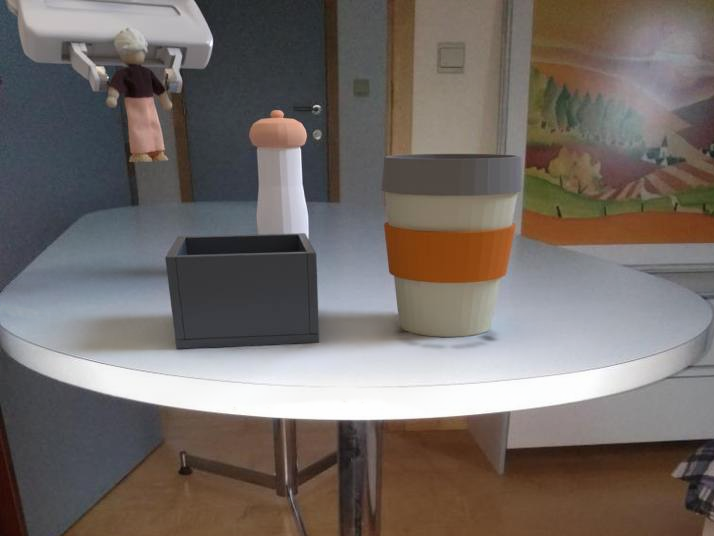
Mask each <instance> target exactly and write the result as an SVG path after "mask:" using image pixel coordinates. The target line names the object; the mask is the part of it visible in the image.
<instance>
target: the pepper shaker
mask: <svg viewBox="0 0 714 536" xmlns="http://www.w3.org/2000/svg"><path fill="white" fill-rule="evenodd" d="M269 115H270V117H268V118H260V119H259V120H257V121H255V122H253V124H252V125H251V127H250V129H249V135H248V136H249V140H250V143H251V145H252V146H254V147H257V148H256V159H257V175H258V177H257V178H258V192H257V193H258V194H257V202H256V203H257V205H256V229H257V234H296V233H297V234H298V233H305V234H306V236H307V238H308V239H309V213H308V208H307V207H308V206H307V202H306V196H305V191H304V185H303V167H302V166H303V165H302V149H301V147H302V146H304V145H306V142H307V137H308V134H307V131H306V128H305V127H304V125H303V123H302V122H300V121H298V120H296V119H295V118H287V117H284V115H285V113H284V112H283V111H282V110H280V109H275V110H272V111H271V112H270V114H269Z"/></svg>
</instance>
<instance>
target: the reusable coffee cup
mask: <svg viewBox="0 0 714 536" xmlns="http://www.w3.org/2000/svg"><path fill="white" fill-rule="evenodd" d="M522 157H523V156H521V155H519V154H518V155H516V154H502V153H501V154H500V153H418V154H417V153H416V154H415V153H414V154H411V153H410V154H394V155H393V154H392V155H386V156H384V158H383V160H384V161H383V168H382V169H383V171H382V178H381V187H380V188H381V189H380V190H381V191H382V192H384V196H385V204H386V205H385V206H386V213H387V215H386V217H387V222H384V224H383V228H384V229H383V230H384V238H385V247H386V256H387V265H388V273H389V274H390V275H392V276H393V279H394V288H395V290H394V291H395V298H396V309H397V316H398V317H397V318H398V326H399V327H400V328H401V329H402V330H404V331H407V332H408V333H412V334H416V335H422V336H427V337H439V338H459V337H470V336H476V335H479V334H480V335H481V334H483V333H486V332H488V331H490V330H491V328H492V325H493V324H492V323H493V319H494V314H495V309H496V304H497V300H498V294H499V289H500V284H501V279H502V278H503V277H504V276H506V275H507V272H508V267H509V262H510V258H511V252H512V247H513V242H514V239H515V232H516V229H517V228H516V227H517V225H516V223H514V222H513V219H514V215H515V210H516V204H517V200H518V194H519V193H520V192H522V191H523V162H522Z"/></svg>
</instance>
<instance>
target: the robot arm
mask: <svg viewBox="0 0 714 536" xmlns="http://www.w3.org/2000/svg"><path fill="white" fill-rule="evenodd" d="M4 1H5V4H6V6H7V9H8V10H9V11H10V12H11V14H13V15H14V16H16V17H17V28H18V34H19V35H18V36H19V40H20V43H21V47H22V51H23V53H24V55H25V56H26V57H28V58H29V59H30V60H32V61H33V62H34V63H37V64H58V65H59V64H60V65H61V64H62V65H71V67H72V68H73V70H74V71H76V73H78V74H79V75H81V76H82V77H83V78H84V79H86V80H87V81H89V84H90V87H91V89H92V91H93V92H109V84H110V79H109V74H108V73H107V70H106V67H105V66H114V67H116V66H117V67H128V66H127V65H126V64H124V63H123V61H122V60H121V58H120V54H119V53H118V52H117V50H116V47H115V46H114V45H115V44H114V42H115V37H116V36H117V33H120V31H121V30H123V29H126V28H133V29H135V30H137V31H139V32H140V33H141V34H142V35H143V37H144V39H145V40H146V42H147V45H148V46H147V50H148V52H147V53H146V54H145V58H144V61H143V63H142V65H141V66H143V67H146V68H164V71H163V75H164V76H163V77H162V85H163V86H164V88H165V91H166V93H167V94H168V93H169V94H170V93H171V94H181V93H182V88H183V78H182V76H181V73H180V70H181V69H193V70H195V69H198V70H204V69H205V68H206V67H207V66H208V64H209V62H210V59H211V56H212V53H213V52H212V51H213V46H214V37H213V34H212V32H211V29H210V27H209V25H208V22H207V21H206V19H205V17H204V15H203V13H202V11H201V9H200V7H199V6H198V4H197V3H196V1H195V0H4Z"/></svg>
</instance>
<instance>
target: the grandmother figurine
mask: <svg viewBox="0 0 714 536" xmlns="http://www.w3.org/2000/svg"><path fill="white" fill-rule="evenodd" d="M114 44H115V45H114V46H115V47H116V50H117V52H118V53H119V54H120V58H121V60H122V61H123V63H124V64H126V65H127V66H124V67H123V68H121V69H119V70H117V71H116V72H115V73H114V74H113V76H112V77H111V79H110V81H109V85H108V91H107V92H108V93H107V95H108V96H107V98H106V101H105V102H106V106H108V107H109V108H116V107H117V105H118V99H119V97H120V96H121V95H122V94H124V106H125V110H126V117H127V125H128V140H129V142H128V143H129V150H130V154H131V155H130V156H129V161H128V162H129V163H149V162H150V163H151V162H165V161H169V158H168V157H167V155H165V153H164V151H165V150H166V149H165V141H164V136H163V130H162V126H161V123H160V120H159V119H160V118H159V115H158V111H157V107H156V104H155V99H154V95H156V96H157V98H158V100H159V102H161V105H162V107H163V109H164V110H166V111H170V110H171V109H173V103H172V101H171V100H170V99H169V96H168V92H166V88H165V87H164V84H163V83H162V82H161V81H160V79H159V78H158V77H157V75H156V74H155V72H153V70H152V69H151V68H150V67H143V66H141V65H142V63H143V61H144V58H145V54H146V53H147V52H148V50H147V46H148V45H147V42H146V40H145V39H144V37H143V35H142V34H141V33H140V32H139V31H137V30H135V29H133V28H126V29H123V30H121V31H120V33H117V36H116V37H115V42H114Z"/></svg>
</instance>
